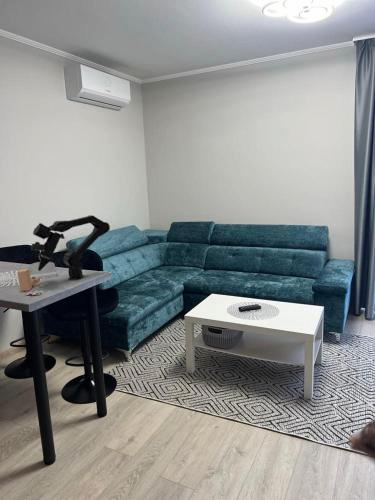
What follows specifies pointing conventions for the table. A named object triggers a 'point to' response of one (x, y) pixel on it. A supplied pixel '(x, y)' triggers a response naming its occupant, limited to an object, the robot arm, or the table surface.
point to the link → (26, 280)
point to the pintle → (35, 283)
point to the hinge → (42, 270)
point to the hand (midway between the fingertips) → (38, 270)
